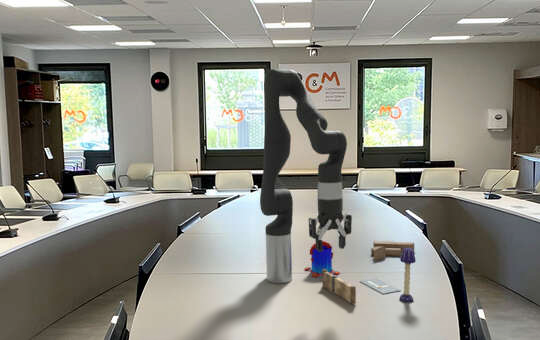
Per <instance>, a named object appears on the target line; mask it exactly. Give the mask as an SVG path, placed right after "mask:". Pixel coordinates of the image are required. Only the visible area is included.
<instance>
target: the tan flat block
mask: <svg viewBox="0 0 540 340" xmlns="http://www.w3.org/2000/svg"><path fill="white" fill-rule="evenodd" d="M332 276H335V275H333V274H331V273H329V272H327V269H323V270H322V276H321V277H322V288H324V289H326V290H327V291H328V292H330V293H334V292H333V286H332Z"/></svg>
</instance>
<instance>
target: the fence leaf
mask: <svg viewBox="0 0 540 340" xmlns="http://www.w3.org/2000/svg"><path fill="white" fill-rule="evenodd" d="M332 286H333V292H332V293H334V294H336V295H338V296H339V297H341V298H342V299H343V300H346V301H348V302H349V303H350V304H352V305H355V304H357V301H356V300H357V296H356V295H357V291H356V290H357V287H356V285H352V284H350V283H348V282H347V281H345V280H343V279H341V278H339V277H338V275H334V276H332Z"/></svg>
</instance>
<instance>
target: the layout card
mask: <svg viewBox="0 0 540 340" xmlns="http://www.w3.org/2000/svg"><path fill="white" fill-rule="evenodd" d="M359 282H360V283H361V284H363V285H365V286H367V287H369V288H371V289H372V290H375V291H376V292H378V293H380V294H382V295H386V294H391V293H392V294H394V293H397V292H401V291H402V290H401V289H400V288H397V287H396V286H393V285H391V284H390V283H388V282H385V281H383V280H381V279H379V278H377V277H373V278H368V279H363V280H359Z"/></svg>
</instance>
